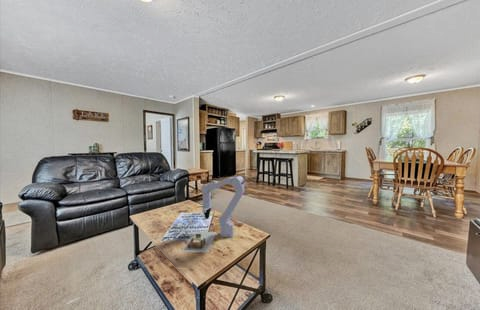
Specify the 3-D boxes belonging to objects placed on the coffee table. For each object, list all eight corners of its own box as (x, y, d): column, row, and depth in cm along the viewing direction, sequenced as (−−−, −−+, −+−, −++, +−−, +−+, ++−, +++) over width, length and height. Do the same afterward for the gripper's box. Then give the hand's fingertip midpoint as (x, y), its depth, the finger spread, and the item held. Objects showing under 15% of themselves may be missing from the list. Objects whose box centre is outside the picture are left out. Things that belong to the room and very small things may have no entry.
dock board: (216, 232, 125) (216, 232, 125) (208, 253, 101) (208, 252, 101) (194, 232, 126) (194, 231, 126) (181, 252, 102) (181, 251, 102)
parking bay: (205, 242, 112) (205, 238, 112) (202, 248, 105) (202, 244, 105) (192, 241, 113) (192, 238, 112) (188, 248, 105) (188, 244, 105)
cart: (194, 241, 112) (194, 233, 112) (202, 242, 112) (202, 233, 112) (191, 247, 107) (191, 238, 106) (199, 247, 106) (199, 238, 106)
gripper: (204, 197, 133) (204, 214, 134) (198, 203, 119) (198, 222, 119) (213, 197, 133) (213, 214, 133) (208, 203, 118) (208, 223, 119)
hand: (207, 218), depth 126 cm, fingers closed
